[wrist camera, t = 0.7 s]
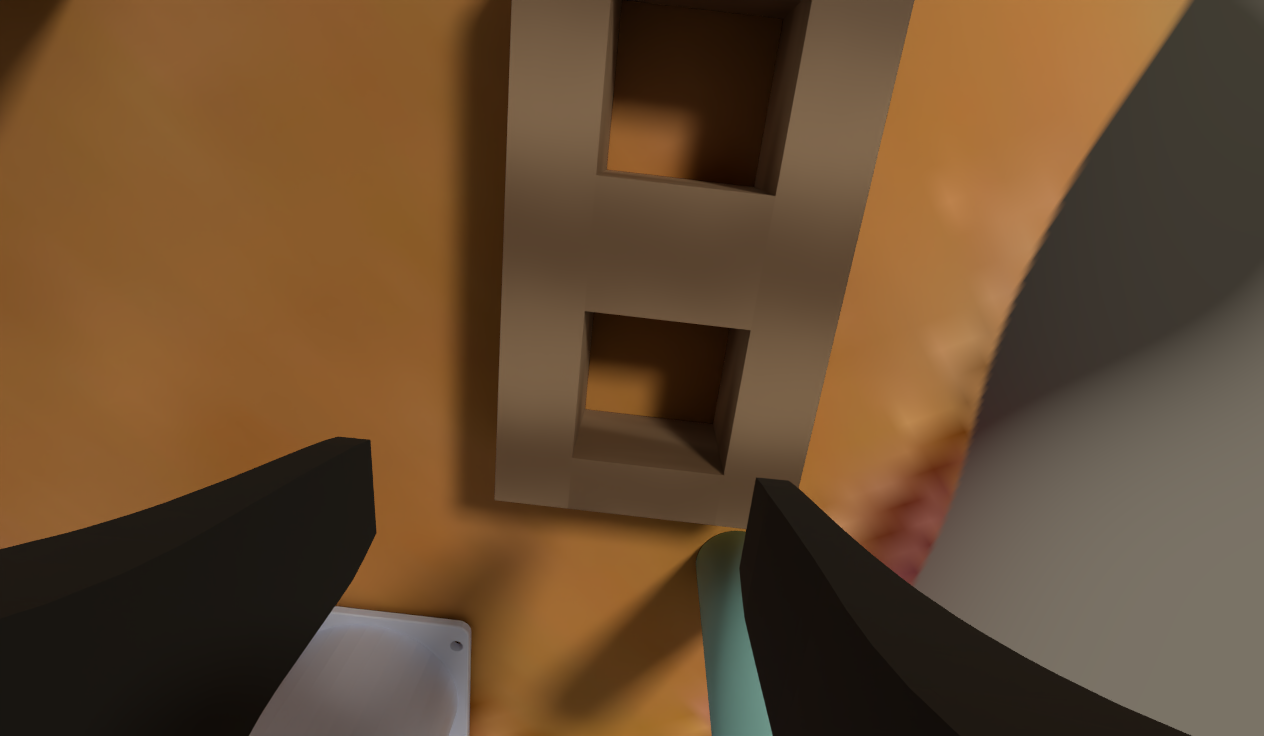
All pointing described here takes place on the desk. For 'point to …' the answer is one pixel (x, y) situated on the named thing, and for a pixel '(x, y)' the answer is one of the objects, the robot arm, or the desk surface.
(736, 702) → the peg
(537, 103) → the hole block
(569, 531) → the desk surface
